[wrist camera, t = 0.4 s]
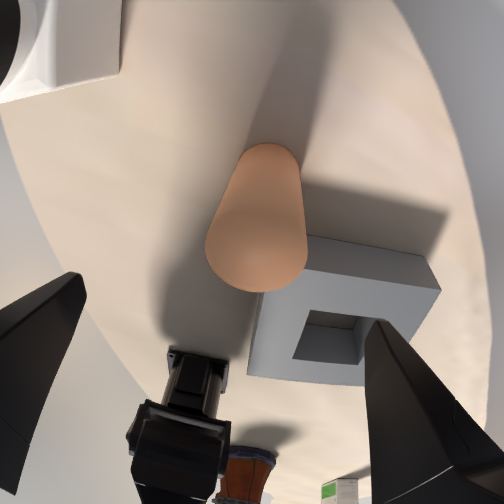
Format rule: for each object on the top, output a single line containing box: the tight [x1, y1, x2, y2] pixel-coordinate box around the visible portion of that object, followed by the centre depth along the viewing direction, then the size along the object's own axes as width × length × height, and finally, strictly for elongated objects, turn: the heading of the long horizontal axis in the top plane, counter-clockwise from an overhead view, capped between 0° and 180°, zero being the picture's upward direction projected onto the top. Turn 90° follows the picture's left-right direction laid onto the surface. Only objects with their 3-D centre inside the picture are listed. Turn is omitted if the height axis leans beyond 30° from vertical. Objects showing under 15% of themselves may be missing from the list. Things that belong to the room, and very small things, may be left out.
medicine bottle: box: [0, 0, 122, 104], centre depth 10 cm, size 7×7×12 cm
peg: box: [205, 143, 308, 292], centre depth 16 cm, size 4×4×9 cm
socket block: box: [247, 235, 442, 386], centre depth 24 cm, size 12×12×4 cm
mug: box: [202, 446, 276, 504], centre depth 44 cm, size 18×12×15 cm, turn 126°
